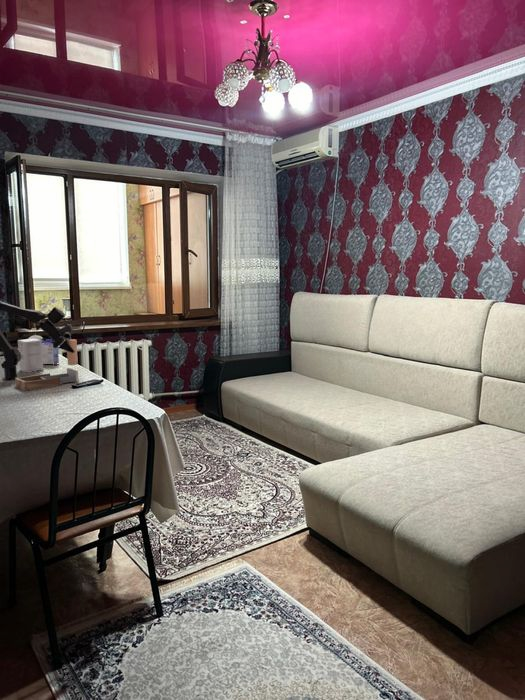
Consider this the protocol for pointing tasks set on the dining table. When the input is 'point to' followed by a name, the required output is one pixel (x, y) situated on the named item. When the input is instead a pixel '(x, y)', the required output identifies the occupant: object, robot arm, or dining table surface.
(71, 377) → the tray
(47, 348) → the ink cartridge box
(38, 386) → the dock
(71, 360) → the canister
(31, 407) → the dining table surface
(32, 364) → the supplement box
